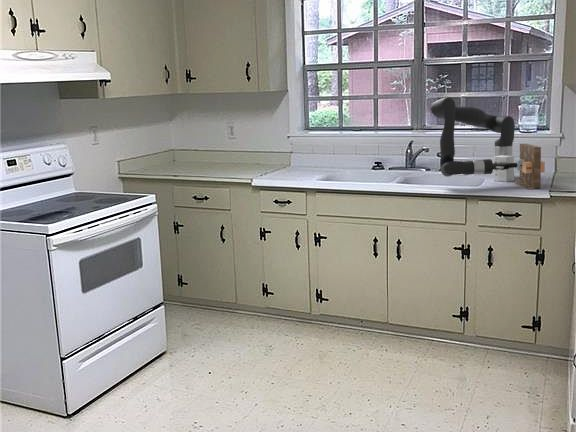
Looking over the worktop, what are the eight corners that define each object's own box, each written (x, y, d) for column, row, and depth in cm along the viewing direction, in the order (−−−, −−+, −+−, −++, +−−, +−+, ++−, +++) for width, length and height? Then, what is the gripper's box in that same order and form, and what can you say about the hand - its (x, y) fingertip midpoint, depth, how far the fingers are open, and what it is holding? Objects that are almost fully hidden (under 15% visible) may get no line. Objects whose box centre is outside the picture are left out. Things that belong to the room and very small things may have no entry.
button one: (514, 169, 332) (515, 159, 331) (532, 168, 332) (532, 158, 331) (518, 170, 327) (518, 160, 326) (536, 169, 327) (536, 159, 326)
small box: (514, 180, 345) (514, 155, 343) (506, 182, 342) (506, 157, 340) (502, 179, 352) (502, 155, 350) (493, 180, 349) (493, 156, 346)
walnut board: (514, 183, 336) (514, 144, 332) (525, 182, 336) (525, 143, 332) (528, 189, 316) (529, 147, 312) (540, 188, 316) (540, 147, 312)
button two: (522, 172, 322) (522, 161, 321) (540, 171, 321) (541, 160, 320) (526, 173, 316) (526, 163, 315) (544, 172, 316) (545, 162, 315)
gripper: (485, 161, 323) (521, 158, 322) (478, 158, 336) (512, 156, 335) (485, 176, 324) (520, 174, 324) (478, 172, 337) (512, 170, 337)
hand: (516, 165), depth 330 cm, fingers closed
